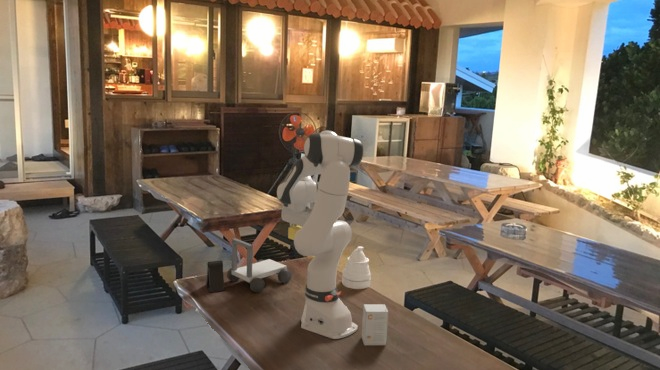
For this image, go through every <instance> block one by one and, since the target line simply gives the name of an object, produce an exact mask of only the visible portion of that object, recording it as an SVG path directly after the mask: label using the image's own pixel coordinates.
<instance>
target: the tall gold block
mask: <svg viewBox="0 0 660 370" xmlns="http://www.w3.org/2000/svg"><path fill="white" fill-rule="evenodd" d="M301 228H302V227H301V226H298V225H294V226H293V227H290V226H289V227H288V230H287V232H288V233H287V236H288V237H287V238H288V239H289V240H293V241H294V236H295V234H296V233H297V232H298V231H299V230H300V229H301Z"/></svg>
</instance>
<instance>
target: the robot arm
mask: <svg viewBox="0 0 660 370" xmlns="http://www.w3.org/2000/svg"><path fill="white" fill-rule="evenodd" d="M303 151H304V152H303V153H304V155H303V156H302V157H300V158H299V159H297V160H296V161H295V162H294V164H292V166H291V168H290V169H289V171H288V173H287V174H286V175H285V177H284V179H283V180H282V181H280V183H279V184H278V185H277V188H276V198H277V200H278V201H279V202H280V203H281V205H282V208H281V215H280V217H281V220H282V221H284V222H286V223H289V227H293V226H297V225H298V226H301V227H302V228H301V229H300V230H299V231H298V232H297V233H296V234H295V236H294V240H293V245H294V248H295V250H296V251H297V253H298V254H299V255H300V256H304V257H310V256H311V257H313V256H314V257H313V258H312V259H311V260H310V262H309V264H308V265H307V268H306V269H307V272H306V273H307V274H306V285H305V288H304V289H305V290H304V291H305V292H304V296H305V302H304V307H303V312H302V316H301V318H300V321H301V324H300V325H301V326H300V328H301V329H303V330H306V331H309V332H311V333H315V334H318V335H320V336H323V337H326V338H329V339H332V340H338V339H344V338H346V337H349V336H350V335H352V334H354V333H355V332H356V331H357V330H358V328H359V327H358V324H356V323H355V322H353V321H352V319H353V318H352V314H351V313H352V312H351V311H350V310H349V308H348V306H347V305H345V304H344V302H343V301H342V300H341V299H340V295H341V293H342V291H338V287H337V277H338V276H337V273H338V267H339V264H340V260H341V257H342V255H343V252H344V250H345V249H346V247H347V246H348V245H349V243H350V242H351V240H352V238H353V230H352V228H351V226H350V224H349V223H348V222H347V221H345V220H340V219H339V218H341V217H342V215H343V214H344V212H345V208H346V205H347V200H348V195H349V190H350V182H351V181H350V180H351V168H350V167H355V166H356V167H357V166H358V165H359V164H361V162H362V161H363V157H364V145H363V143H362V141H361V140H359V139H357V138H354V137H346V136H343V135H342V136H341V135H338V134H337V132H335V131H332V130H326V129H325V130H323V131H321V132H318V133H316V132H315V133H311V134H309V135H308V136H307V137H306V139H305V142H304V144H303ZM318 175H320V177H319V179H318V180H319V181H318V183H317V182H316V181H315V180H314V179H313V178H312V176H318ZM311 203H312V204H313V203H314V204H313V207H312V208H311ZM338 219H339V220H338Z"/></svg>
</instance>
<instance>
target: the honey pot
mask: <svg viewBox="0 0 660 370" xmlns="http://www.w3.org/2000/svg"><path fill="white" fill-rule="evenodd" d="M363 250H364V246H359V245H358V246H357V248H355V249H354V250H353V251H352V253H351V254H350V256H348V257H347V258H346V259H347V261H346V263H345V266H344V269H343V271H342V277H341V278H342V279H341V284H342V285H343V286H344V287H346V288H349V289H353V290H363V289H367V288H369V287H370V286H371V275H372V273H371V271H370V265H369V262H370V259H369V258H368V257H366V255H365V253H364V251H363Z"/></svg>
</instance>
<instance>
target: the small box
mask: <svg viewBox="0 0 660 370" xmlns="http://www.w3.org/2000/svg"><path fill="white" fill-rule="evenodd" d="M362 308H363V309H362V321H361V323H362V324H361V340H362V343H363V345H364V346H387V337H388V323H389V321H388V320H389V310H388V307H387V306H386V304H385V303H384V304H381V303H380V304H379V303H377V304H374V303H373V304H371V303H370V304H368V303H367V304H366V303H364V304H363V305H362Z"/></svg>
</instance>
